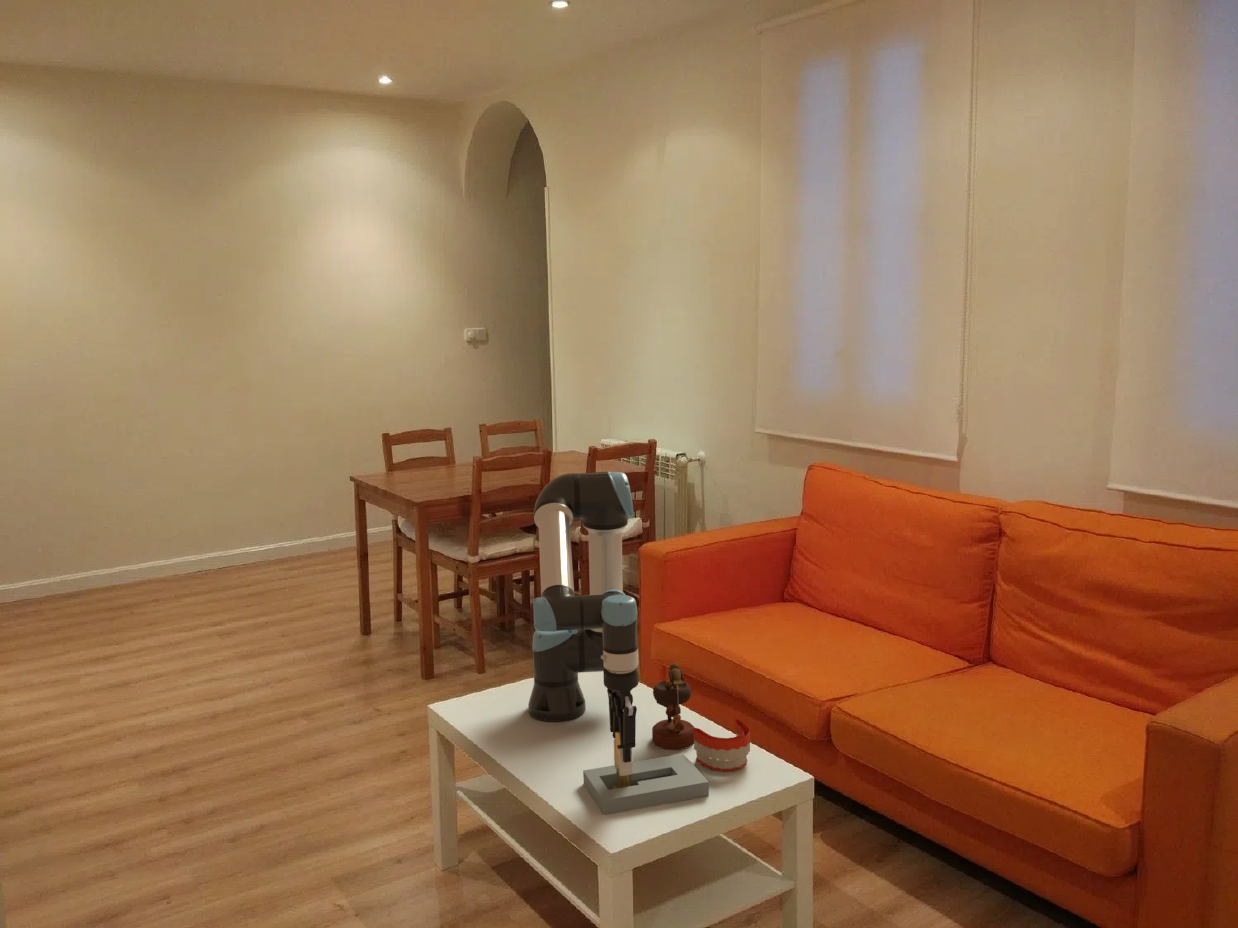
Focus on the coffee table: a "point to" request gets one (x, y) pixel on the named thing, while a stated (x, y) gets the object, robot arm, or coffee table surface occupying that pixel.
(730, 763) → the toy
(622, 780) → the brass peg
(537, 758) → the coffee table surface
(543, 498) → the robot arm
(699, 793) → the keyhole board
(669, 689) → the music box
